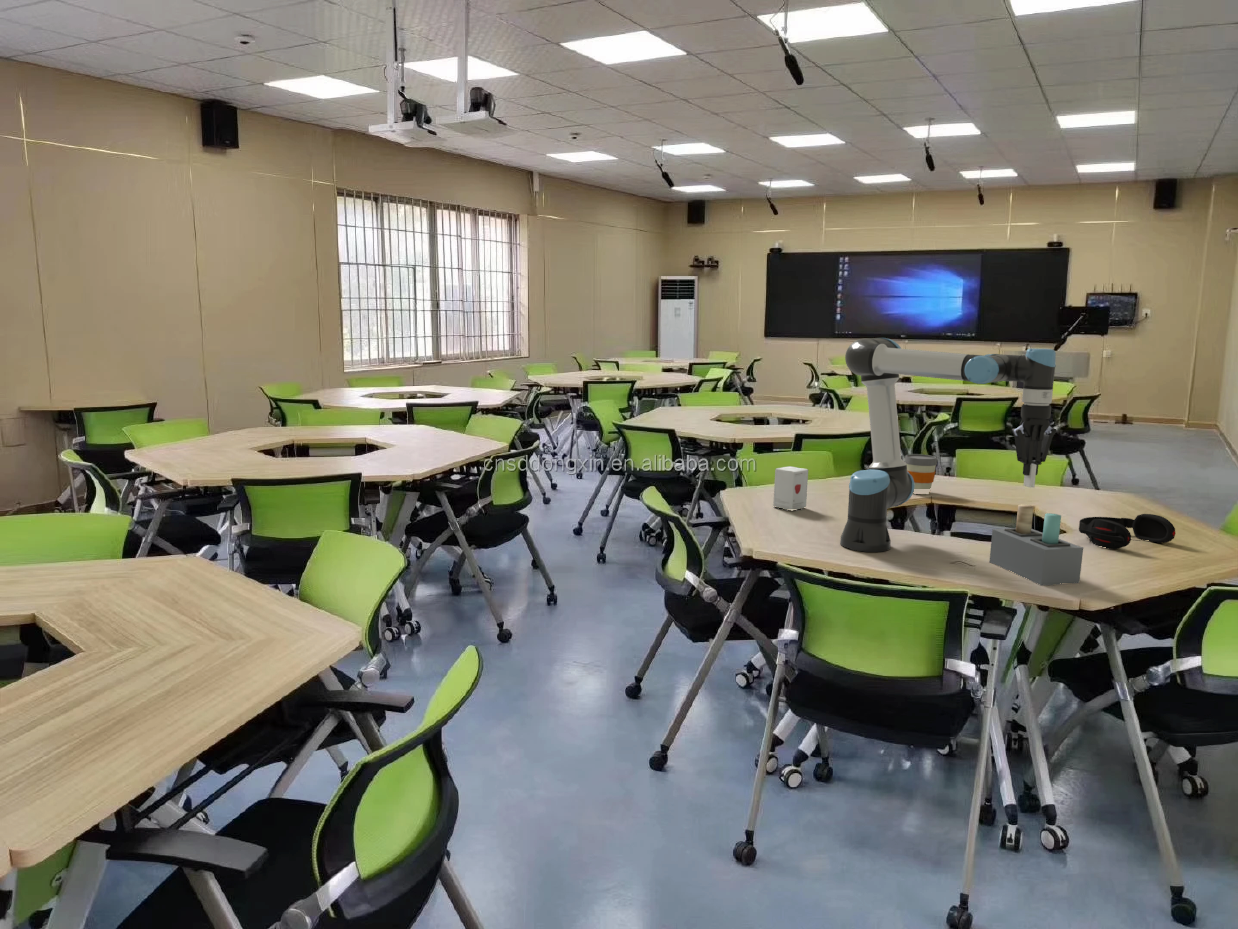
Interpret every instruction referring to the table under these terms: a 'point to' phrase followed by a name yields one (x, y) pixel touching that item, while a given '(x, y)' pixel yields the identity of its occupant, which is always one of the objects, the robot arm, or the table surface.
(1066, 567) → the socket block
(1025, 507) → the beech peg
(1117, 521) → the headset
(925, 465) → the reusable coffee cup
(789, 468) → the supplement box
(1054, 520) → the teal peg
